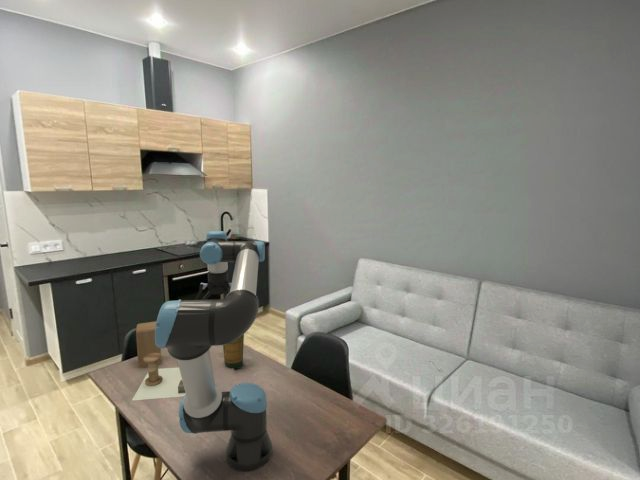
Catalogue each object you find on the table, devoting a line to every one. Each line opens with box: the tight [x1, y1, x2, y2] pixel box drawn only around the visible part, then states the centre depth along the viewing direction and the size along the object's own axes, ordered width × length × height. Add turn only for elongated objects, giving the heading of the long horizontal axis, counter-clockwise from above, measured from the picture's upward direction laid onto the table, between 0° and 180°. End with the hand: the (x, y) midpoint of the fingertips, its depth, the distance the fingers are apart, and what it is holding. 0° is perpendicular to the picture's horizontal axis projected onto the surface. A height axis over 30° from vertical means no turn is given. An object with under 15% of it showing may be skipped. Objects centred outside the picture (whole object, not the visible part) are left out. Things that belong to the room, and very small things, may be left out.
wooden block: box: [135, 320, 162, 369], centre depth 171 cm, size 10×10×20 cm
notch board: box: [178, 380, 186, 393], centre depth 157 cm, size 19×4×3 cm, turn 10°
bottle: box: [222, 333, 245, 370], centre depth 170 cm, size 11×11×28 cm
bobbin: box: [144, 353, 163, 386], centre depth 155 cm, size 7×7×12 cm
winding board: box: [132, 366, 186, 402], centre depth 156 cm, size 24×22×1 cm
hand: (219, 322), depth 139 cm, fingers open, 13 cm apart
